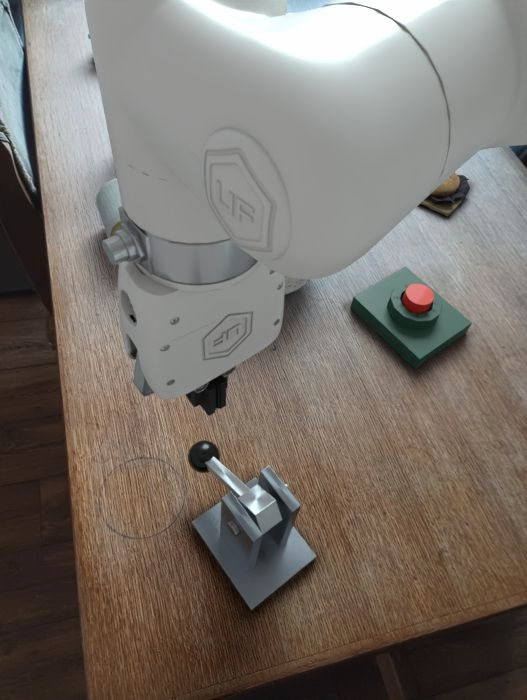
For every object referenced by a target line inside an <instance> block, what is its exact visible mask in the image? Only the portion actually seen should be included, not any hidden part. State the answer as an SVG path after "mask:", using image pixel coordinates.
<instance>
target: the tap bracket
mask: <svg viewBox="0 0 527 700" xmlns="http://www.w3.org/2000/svg"><path fill="white" fill-rule="evenodd" d="M244 484H245V485H246V486H247V487H248V488H249V489H251V488H253V487H254V486H256V485H257V484H258V485H259V486H261V487H262V488H263V489H264V490H265V491H266V492H267V493H269V494H270V495H271V496H272V497H273V498H274V499H275V500H276V501H277V504H278V507H279V510H280V513H281V517H282V520H281V521H280V522H279V523H277V524H276V525H275V526H273V527H272V528H271V529H269V530H268V531H267V532H265V533H264V534H262V532H261V531H260V530H259V528H258V527H257V526H256V524H255V523H254V522H253V520H252V519H251V517H250V516H249V515H248V513H247V512H246V511H245V509H244V508H243V507H242V505H241V504H240V503H239V501H238V498H237V497H236V496H234V494H233V493H232V492H230V491H229V492H228V493H227V494H224V495H223V496H221V498H220V499H221V500H220V501H219V502H218V503H216V504H214V505H213V506H212V507H210V508H209V509H207V510H206V511H205V512H203V513H202V514H200V515H198V516H197V517H195V518H194V520H192V521H191V527H192V528H193V530H194V532H195V533H196V534H197V535H198V537H199V538H200V540H201V541H202V543H203V544H204V546H205V548H206V549H207V551H208V552H209V553H210V555H211V556H212V557H213V559H214V561H215V562H216V564H217V565H218V566H219V568H220V569H221V571H222V573H223V574H224V575H225V577H226V579H228V581H229V583H230V584H231V586H232V587H233V588H234V590H235V592H237V595H238V596H239V597H240V599H241V601H242V602H243V604H244V605H245V607H246V608H247V609H248V611H249V612H250V613H252V612H253V611H254V610H256V608H258V607H259V606H261V605H262V604H263V603H264V602H265V601H267V600H268V599H269V598H270V597H272V596H273V595H274V594H275V593H276V592H278V591H279V590H280V589H281V588H283V586H285V585H286V584H287V583H289V582H290V581H291V580H292V579H294V578H295V577H296V576H297V575H298V574H300V573H301V572H302V571H303V570H304V569H306V568H307V567H309V565H311V564H312V563H313V562H315V560H316V559H317V557H318V556H317V554H316V553H315V552H314V550H313V549H312V547H311V546H309V544H308V543H307V541H306V540H305V539H304V538H303V536H302V535H301V533H299V531H298V529H296V527H295V526H294V525H295V523H296V519H297V518H298V515H299V513H300V510H301V508H302V504H301V503H300V502H299V501H298V499H297V498H296V497H295V496H294V494H293V492H292V490H291V488H290V487H289V485H288V484H287V483H286V482H284V481H282V479H281V478H280V477H279V475H278V474H277V473H276V471H274V469H273V468H272V467H271V466H270V465H269V464H268V465H267V466H265V467H264V468H263V469H261V470H260V472H259V476H258V478H257V477H256V476H255V477H253V478H252V479H250V480H249V481H247V482H246V483H244Z"/></svg>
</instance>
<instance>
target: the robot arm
mask: <svg viewBox="0 0 527 700" xmlns="http://www.w3.org/2000/svg"><path fill="white" fill-rule="evenodd" d="M83 1H84V2H83V3H84V11H85V18H86V23H87V28H88V29H87V30H88V34H89V35H90V39H89V40H90V44H91V50H92V55H93V56H92V57H94V61H95V63H94V67H95V73H96V77H97V81H98V87H99V93H100V96H101V102H102V108H103V114H104V118H105V122H106V123H105V124H106V129H107V134H108V139H109V144H110V150H111V154H112V160H113V165H114V171H115V177H116V178H117V181H118V186H119V191H120V196H121V204H122V206H121V207H119V208H118V210H119V215H120V220H121V225H120V228H119V231H116V232H115V233H114V236H112V237H110V238H108V237H107V238H105V239H102V240H101V246H102V249H103V252H104V254H105V256H106V258H107V259H108V261H109V263H110V264H111V265H112V266H117V265H118V272H117V302H118V303H117V304H118V314H119V322H120V323H119V324H120V329H121V336H122V341H123V345H124V348H125V349H124V350H125V352H126V354H127V356H128V358H129V359H130V360H132V361H133V360H134V361H135V363H134V370H133V378H132V383H133V385H134V386H135V388H136V389H137V390H138V391H139V392H140V394H141V395H142V396H143V397H148V396H150V395H153V394H155V395H156V397H158V398H159V399H160V400H165V401H168V400H174V399H178V398H182V397H183V396H186V398H187V400H188V401H189V403H190V404H191V406H192V407H194V408H197V407H198V406H200V407H201V408H202V410H203V411H204V413H206V415H207V416H208V417H210V416H212V415H214V414H215V413H216V411H217V410H218V409H219V410H221V409H223V408H225V407H227V389H228V387H229V385H228V378H229V377H230V376H231V375H232V374H233V373H234V372H235V370H236V368H237V366H239V365H240V364H242V362H245V361H246V360H248V359H250V358H251V357H253V356H254V355H257V354H258V353H260V352H261V351H264V349H266V348H267V347H269V346H270V345H271V344H273V342H275V341H276V339H277V338H278V337H279V335H280V332H281V331H282V330H281V329H282V325H283V320H284V319H283V318H284V309H285V295H284V290H285V278H284V276H287V277H291V278H295V279H304V280H306V279H310V280H317V279H318V280H319V279H323V278H328V277H329V276H332V275H334V274H337V273H339V272H342V271H343V270H345V269H346V268H348V267H350V266H351V265H352V264H354V263H356V262H357V261H358V260H360V259H361V258H363V256H365V255H366V254H367V253H368V252H370V251H371V249H373V248H374V247H375V246H377V244H379V242H380V241H382V239H384V238H385V237H386V236H387V235H388V234H389V233H390V232H391V231H392V230H393V229H394V228H395V227H397V226H398V225H399V224H400V223H401V222H402V221H403V220H404V219H405V218H406V217H407V216H408V215H410V214H411V213H412V212H413V211H414V210H415V209H416V208H417V207H418V206H419V205H421V204H420V203H421V202H422V201H423V200H424V199H426V198H427V197H428V196H429V195H430V194H431V193H432V192H433V191H435V190H436V189H437V188H438V187H439V186H440V185H441V184H442V183H444V182H445V181H446V180H447V179H448V178H449V177H450V176H451V175H452V174H453V173H454V172H455V173H456V172H457V171H458V170H459V169H460V168H461V167H462V166H463V165H465V164H466V163H467V162H468V161H469V160H470V159H471V158H472V157H474V156H475V155H476V154H477V153H478V152H479V151H483V150H489V149H495V148H496V149H497V148H505V147H517V146H518V147H519V146H527V0H332V1H330V2H328V3H326V4H324V5H322V6H320V7H317V8H312V9H307V10H303V11H297V12H291V13H292V14H287V12H288V0H83Z"/></svg>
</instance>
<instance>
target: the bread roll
mask: <svg viewBox="0 0 527 700" xmlns="http://www.w3.org/2000/svg"><path fill="white" fill-rule="evenodd" d="M470 185H471V182H470V179H469V178H468V177H466V176H465V175H464V174H457V173H456V171H455V172H454V173H453V174H452V175H451V176H450V177H449V178H448V179H447V180H446V181H445V182H444V183H442V184H441V185H440V186H439V187H438V188H437V189H436V190H435V191H433V192H432V193H431V194H430V195H429V196H428V197H427V198H426V199H424V200H423V201H422V202H421V203H420V204H419V205H422V206H425V207H427V208H428V209H429V210H432V211H435V212H437V213H440V214H442V215H443V216H446V217H448V216H450V215H451V214H452V213H454V211H455V210H456V209H457V208H458V207H459V206H460V204H461V203H462V200H463V199H465V197H466V196H467V195H468V193H469V192H470V189H471V186H470Z"/></svg>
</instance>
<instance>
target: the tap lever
mask: <svg viewBox="0 0 527 700" xmlns="http://www.w3.org/2000/svg"><path fill="white" fill-rule="evenodd" d="M220 460H221V452H220V449H219V447H218V446H217V445H216V444H215V443H214V442H212V441H210V440H207V439H203V440H198V441H196V442H194V443H193V444H192V445H191V446H190V448H189V449H188V452H187V462H188V465H189V466H190V468H191V469H192V470H193V471H195V472H196V473H199V474H207V473H210V474H212V476H213V477H215V478H216V479H217V480H218V481H219V482H220V483H221V485H223V486H224V487H225V488H226V489H227V490H228V491H229V492H232V493H233V494H234V496H236V497H237V498H238V501H239V503H240V504H241V505H242V507H243V508H244V509H245V511H246V512H247V513H248V515H249V516H250V517H251V519H252V520H253V522H254V523H255V524H256V526H257V527H258V528H259V530H260V531H261V532H262V534H264V533H265V532H267V531H268V530H269V529H271V528H272V527H273V526H275V525H276V524H277V523H279V522H280V521H281V520H282V517H281V513H280V510H279V507H278V504H277V501H276V500H275V499H274V498H273V497H272V496H271V495H270V494H269V493H267V492H266V491H265V490H264V489H263V488H262V487H261V486H259V485H258V484H257V485H256V486H254V487H253V488H251V489H249V488H248V487H247V486H246V485H245V484H246V483H245V482H243V481H242V480H241V479H240V478H239V477H237V476H236V475H235V474H234V473H233V472H232V471H231V470H229V468H227V466H225V465H224V463H222V462H221V461H220Z"/></svg>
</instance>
